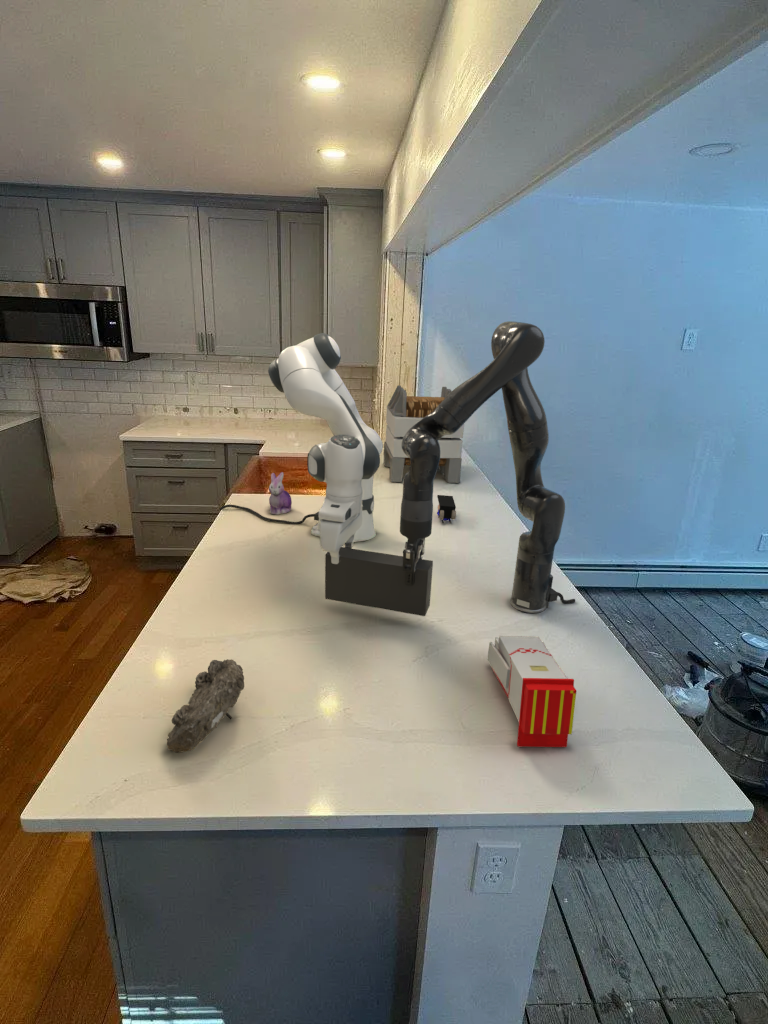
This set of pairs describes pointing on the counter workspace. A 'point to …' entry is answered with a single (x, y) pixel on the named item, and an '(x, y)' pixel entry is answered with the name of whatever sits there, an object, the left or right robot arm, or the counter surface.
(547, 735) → the toy
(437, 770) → the counter surface
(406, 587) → the box
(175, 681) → the counter surface
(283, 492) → the figurine
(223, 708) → the fossil
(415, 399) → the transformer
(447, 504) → the figurine character
